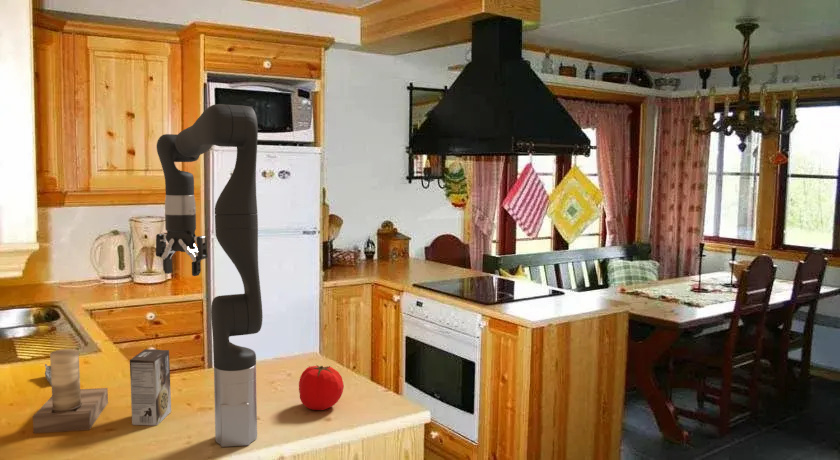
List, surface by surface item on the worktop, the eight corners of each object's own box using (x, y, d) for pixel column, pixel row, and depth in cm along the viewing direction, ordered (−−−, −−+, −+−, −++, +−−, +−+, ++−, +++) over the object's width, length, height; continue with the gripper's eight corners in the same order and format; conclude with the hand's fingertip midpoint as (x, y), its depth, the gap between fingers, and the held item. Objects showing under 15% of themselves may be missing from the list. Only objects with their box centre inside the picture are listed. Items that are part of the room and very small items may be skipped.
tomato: (288, 407, 180) (287, 365, 178) (322, 396, 188) (322, 355, 187) (319, 419, 172) (318, 375, 171) (353, 406, 180) (353, 364, 179)
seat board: (89, 429, 164) (88, 413, 163) (33, 433, 161) (32, 416, 161) (108, 402, 181) (107, 387, 181) (57, 405, 179) (57, 390, 179)
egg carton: (44, 377, 202) (43, 363, 202) (73, 373, 206) (72, 359, 206) (48, 387, 193) (47, 373, 193) (78, 383, 198) (77, 368, 197)
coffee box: (146, 411, 176) (144, 348, 174) (172, 412, 176) (170, 349, 174) (130, 425, 167) (128, 359, 165) (157, 426, 167) (155, 359, 165)
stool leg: (77, 426, 165) (74, 355, 163) (49, 427, 164) (46, 356, 162) (85, 416, 171) (82, 348, 169) (58, 417, 169) (54, 349, 168)
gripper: (147, 212, 179) (149, 275, 181) (194, 214, 175) (196, 278, 177) (167, 210, 187) (168, 270, 188) (212, 212, 182) (214, 274, 184)
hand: (182, 274), depth 182 cm, fingers open, 8 cm apart
